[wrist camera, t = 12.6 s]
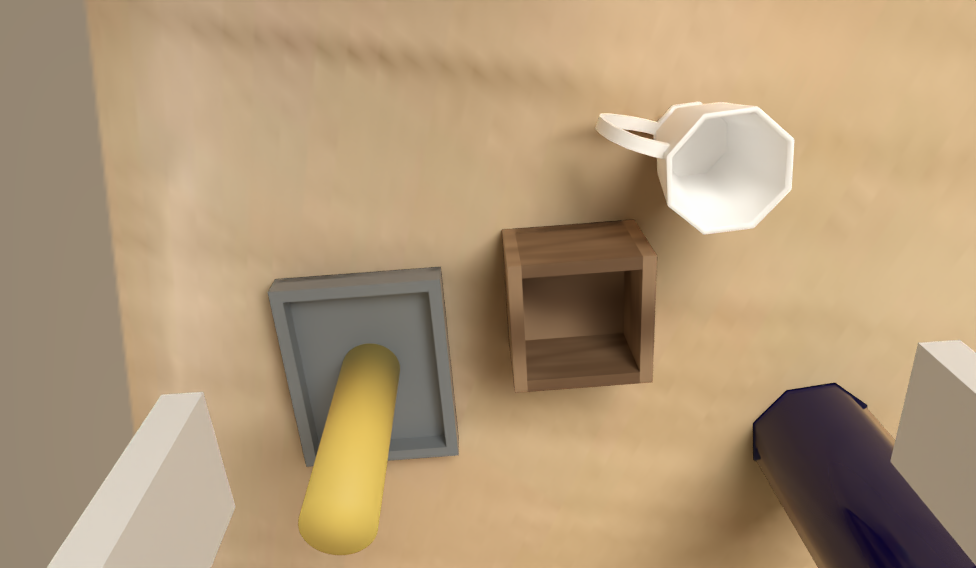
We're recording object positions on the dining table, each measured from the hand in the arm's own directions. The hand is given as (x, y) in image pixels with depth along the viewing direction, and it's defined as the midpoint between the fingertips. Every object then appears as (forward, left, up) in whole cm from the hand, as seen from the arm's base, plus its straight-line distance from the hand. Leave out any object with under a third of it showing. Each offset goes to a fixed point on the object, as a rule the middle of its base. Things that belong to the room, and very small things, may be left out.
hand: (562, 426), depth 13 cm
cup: (+3, +10, -33) cm, 34 cm away
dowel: (+18, -10, -32) cm, 38 cm away
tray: (+18, -10, -32) cm, 38 cm away
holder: (+13, +4, -32) cm, 35 cm away
